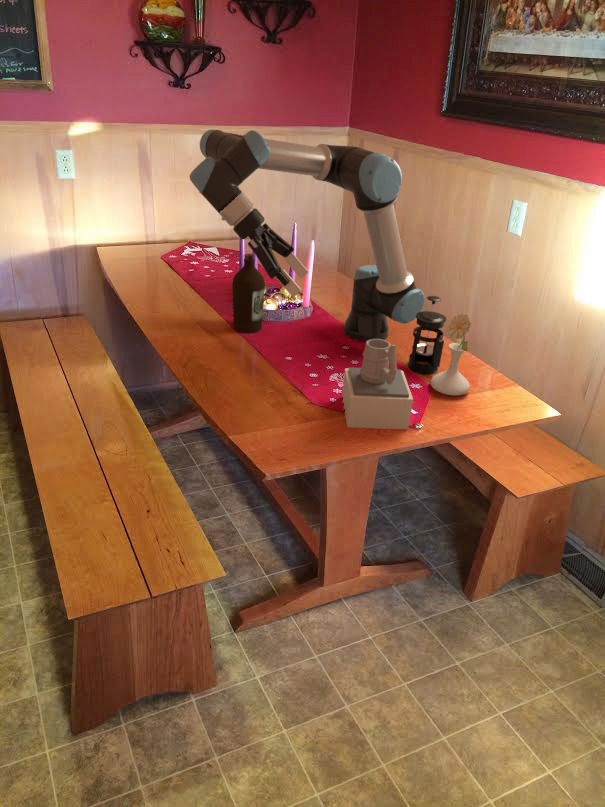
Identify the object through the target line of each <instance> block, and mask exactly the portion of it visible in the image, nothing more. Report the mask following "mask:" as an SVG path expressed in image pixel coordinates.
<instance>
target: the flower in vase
mask: <svg viewBox="0 0 605 807" xmlns="http://www.w3.org/2000/svg"><path fill="white" fill-rule="evenodd" d="M471 320H472V319H471V317H470V315H469V313H464V312H461V313H457V315H454V316H453V317H452V319H451V320H450V322H449V324H448V326H447V327H448V329H447V335H448V336H449V339H450V340H454V341H456V342H452V343H449V344H448V348H449V350H450V356H451V357H450V363H449V366H448V368H447V369H446V370H444V371H441V372H439V373H437V374H435V375H433V377H431V379H430V380H429V381H430V385H431V387H432V388H433V390H435V391H436V392H439V393H440V394H444V395H449V396H462V395H465V394H467V393H468V392H469V391H470V389H471V385H470V382H469V381H468V380H467V378H466V377H465V376H464V375H463V374H461V373H460V372H459V362H460V359H461V357H462V355H463V353H464V352H468V344H469V343H468V341H467V340H466V339H465V338H466V334H467V333H469V332H470V329H471V326H472V321H471Z"/></svg>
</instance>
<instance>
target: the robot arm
mask: <svg viewBox="0 0 605 807" xmlns="http://www.w3.org/2000/svg"><path fill="white" fill-rule="evenodd" d="M199 140H200V141H199V150H200V153H201V154H202V156H203V157H204V158H205V159H204V160H202V161H201V162H200V163H199V164H198V165H197V166H196V167H195V168H194V169H193V170H192V171H191V173H190V174H189V180H190V182H191V183H192V184H193V185H194V187H195V188H196V189H197V190H198V192H199V194H201V195H202V197H203V198H204V199H206V201H207V202H208V203H209V204H210V206H212V207H213V208H214V210H215V211H216V212H217V213H218V214H219V215H220V217H221V220H222V221H225V222H226V223H227V225H229V227H232V226H233V232H234V233H236V235H237V236H238V237H239V239H241V240H245V239H246V238H249V239H250V241H248V243H247V245H248V247H249V248H250V249H251V250H252V252H253V253H254V256H256V258H257V259H258V261H259V262H260V264H261V266H262V267H263V269H264V270H265V272H266V273H267V275H268V277H269V278H270V279H271V280H273V279H276V280H277V281H278V282H279V283H280V284H281V286H282V287H283V288H284V289H285V290H286V291H287V292H288V294H290V296H291V297H292V298H294V296H296V295H297V294H299V293H300V292H301V291H302V288H301V287H300V286H299V284H297V283H296V281H295V280H294V279H293V278H292V277H291V276H290V275H289V273H288V272H287V270H285V269H284V268H283V269H282V268H281V265H280V264H279V262H278V259H277V258H276V256H275V254H274V252H275V253H277V254H278V255H280V256H282V257H283V258H284V259H283V260H284V261H285V262H286V264H287V265H288V266H289V267H290V268H291V269H292V270H293V272H294V273H295V274H296V275H297V276H298V277H299V279H300V280H301V279H302V278H304V277H305V276H306V275H307V274H308V273H309V272H310V271H309V270H308V269H307V268H306V266H305V265H304V264H303V262H301V260H299V258H298V257H297V256H296V254H295V253H294V252H293V251H294V250H295V248H294V246H292V245H290V244H289V243H288V242H287V241H286V240H285V239H284V238H282V236H280V235H279V234H278V233H276V231H274V230H273V229H272V228H271V227H270V226H269V225H268V224H267V223H266V222H265V223H264V221H266V220H265V217H264V216H263V214H262V213H261V212H260V211H259V209H257V208H253V207H254V204H253V203H252V201H250V199H249V198H248V197H247V195H246V194H245V193H244V192H243V191H242V190H241V189H240V185H241V184H242V183H243V182H245V180H247V179H248V178H249V177H250V176H251V175H252V174H254V172H255V171H257V170H258V169H261V170H266V171H268V170H269V171H275V172H281V173H290V174H297V175H305V176H310V177H311V176H312V178H313V179H314V180H316V181H320V182H321V181H323V182H326V183H329V184H332V185H334V186H337V187H338V188H341V189H343V190H346V191H348V192H351V193H352V194H353V197H354V201H355V202H354V203H355V206H356V208H357V209H358V211H361V212H363V215H364V220H365V225H366V228H367V229H366V230H367V233H368V238H369V241H370V245H371V250H372V253H373V258H374V262H375V264H367V265H361V266H359V267H357V268H356V270H355V271H354V277H353V285H352V286H353V288H352V296H351V309H350V311H349V313H348V316H347V317H346V320H345V322H344V326H343V333H344V335H345V336H347V337H349V338H350V339H352V340H357V341H361V342H365V343H366V342H367V341H368V340H371V339H382V340H385V339H387V338H388V337H389V330H390V328H389V323H388V319H387V317H388V318H389V319H391V320H392V321H393V322H396V323H399V324H409V323H411V322H413V321H414V320H415V319H417V318H416V314H417V313H419V312H422V310H423V308H424V306H425V304H426V302H425V301H426V298H425V293H424V292H423V291H422V290H421V289H420V288H417V287H416V283H415V279H414V275H413V273H411V272H410V271H408V270H407V264H406V260H405V254H404V250H403V245H402V239H401V235H400V231H399V225H398V220H397V215H396V210H395V207H394V205H395V202H396V201H397V199H398V194H399V192H400V190H401V188H400V186H402V183H403V175H402V170H401V167H400V166H399V164H398V163H397V161H396V160H395V159H394V158H392V157H390V156H388V155H386V154H384V153H381V152H374V151H372V150H369V149H366V148H362V147H359V146H352V145H335V144H334V145H333V144H325V143H320V144H318V145H316V146H312V145H305V144H300V143H293V142H289V141H288V142H287V141H282V140H276V139H270V138H269V139H268V138H264V136H262V135H261V134H260V133H259V132H257V131H256V130H249V131H247V132H246V133H245V134H237V133H232V132H231V133H230V132H226V131H222V130H221V129H209V130H206V131H205V132H204V133H203V134H202V135H201V138H200V139H199ZM263 223H264V224H263ZM273 251H274V252H273Z"/></svg>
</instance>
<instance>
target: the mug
mask: <svg viewBox="0 0 605 807" xmlns="http://www.w3.org/2000/svg"><path fill="white" fill-rule="evenodd" d="M396 347H397V345H396V344H391V343H390V342H389V341H387V340H385V339H384V340H382V339H371V340H368V341H367V342H365V348H364V350H363V352H362V356H363V359H362V365H361V367H360V368H361V369H360V373H361V378H362V379H363V380H364V381H366V382H369V383H375V384H379V383H383V382H385V381H387V384H391V383H392V382H393V381H394V379H395V377H396V372H397V369H398V367H397V356H396V355H397V354H396ZM388 369H389V370H388Z"/></svg>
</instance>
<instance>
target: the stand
mask: <svg viewBox="0 0 605 807" xmlns="http://www.w3.org/2000/svg"><path fill="white" fill-rule="evenodd" d="M360 369H361V367H350V366H349V367H347V368H344V372H343V374H344V375H343V384H342V385H343V387H342V392H341V395H342V396H341V398H342V397H343V400H342V404H343V403H344V406H343V410H344V409H345V412H344V417H345V421H346V422H345V423H346V427H347V428H353V429H354V428H356V429H357V428H358V429H359V428H360V429H385V430H409V429H410V428H409V427H410V420H411V414H412V409H413V403H414V398H413V395H412V392H411V390H410V387H409V384H408V381H407V378H406V375H405V372H404V371H403V370H401V369H399V368H397V372H396V377H395V379H394V381H393V382H392V383H391V384H387V381H385V382H383V383H379V384H375V383H369V382H366V381H364V380H363V379H362V378H361V373H360ZM389 369H390V368H388V370H389Z"/></svg>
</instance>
